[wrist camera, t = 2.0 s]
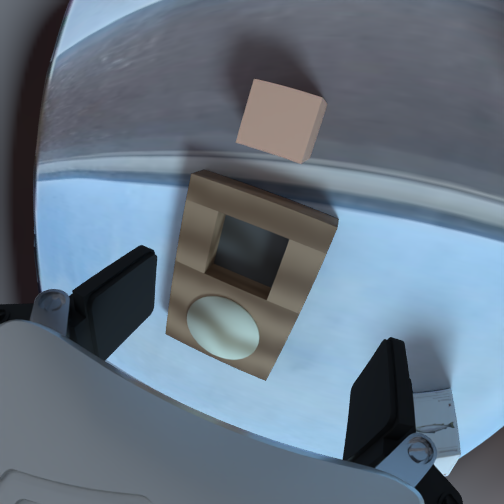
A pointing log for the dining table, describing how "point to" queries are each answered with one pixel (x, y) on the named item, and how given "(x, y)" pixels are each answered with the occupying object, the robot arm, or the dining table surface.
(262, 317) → the hole platform
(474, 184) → the dining table surface
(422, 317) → the dining table surface
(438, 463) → the supplement box
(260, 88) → the block
